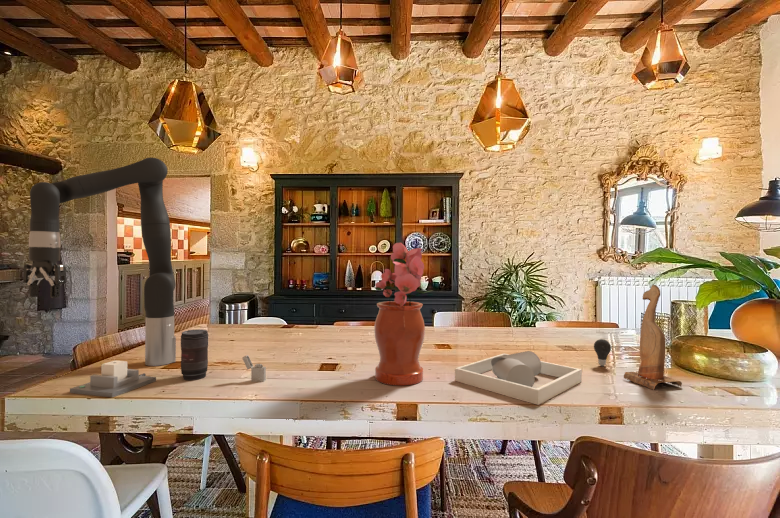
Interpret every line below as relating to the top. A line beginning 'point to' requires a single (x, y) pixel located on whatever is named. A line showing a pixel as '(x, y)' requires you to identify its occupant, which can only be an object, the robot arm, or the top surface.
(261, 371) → the lighter
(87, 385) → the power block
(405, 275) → the potted flower
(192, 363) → the camera lens
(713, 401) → the top surface
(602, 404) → the top surface
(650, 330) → the bird sculpture
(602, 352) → the light bulb
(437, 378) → the top surface
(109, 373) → the charger block
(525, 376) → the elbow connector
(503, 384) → the roll tray
